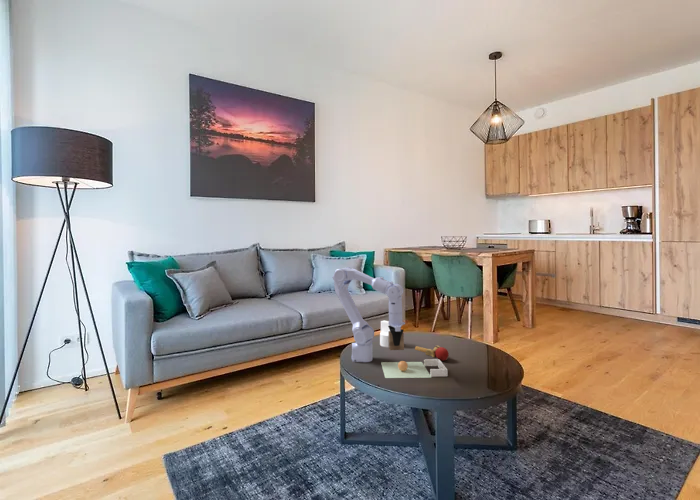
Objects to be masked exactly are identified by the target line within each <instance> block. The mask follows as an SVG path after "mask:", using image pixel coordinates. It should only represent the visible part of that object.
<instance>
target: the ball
mask: <svg viewBox="0 0 700 500" xmlns="http://www.w3.org/2000/svg"><path fill="white" fill-rule="evenodd" d="M398 362H399V363H398V368H399V370H401V371H405V370H407V368H408V364H407V363H406V362H407V361H404V360H400V361H398Z"/></svg>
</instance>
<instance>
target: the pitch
mask: <svg viewBox="0 0 700 500" xmlns="http://www.w3.org/2000/svg"><path fill="white" fill-rule="evenodd" d="M399 362H400V361H389V362H388V361H385V362H383V361H381V362H380V363H381V368H382V371H383V375H384V378H385V379H407V378H408V379H411V378H412V379H417V378H418V379H421V378H422V379H423V378H427V379H428V378H432V377H448V376H449V375H448V368H447V367H446V366H445V364H443V361H440V360H439V359H438V358H432V359H430V358H429V359H428V358H426V359H423V361H405V362H406V363H407V364H408V368H407V370H405V371H401V370H399V368H398V363H399ZM427 367H438V368H430V369H429V371H430V372H429V371H428V369H427Z"/></svg>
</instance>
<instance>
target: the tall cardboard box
mask: <svg viewBox="0 0 700 500" xmlns="http://www.w3.org/2000/svg"><path fill="white" fill-rule="evenodd" d="M404 337H405V334H404V332H403V333H402V336H401V339H400V345H399V346H394V343H393V337H392V333H391V331H388V339H389V347H388V350H389V351H404V350H405V338H404Z"/></svg>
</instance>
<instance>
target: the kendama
mask: <svg viewBox="0 0 700 500" xmlns="http://www.w3.org/2000/svg"><path fill="white" fill-rule="evenodd" d="M414 350H415V351H419V352H422V353H425V356H431V357H433V358H435V359H439V360H440V361H441V362H444V361H447V360H448V358H449V355H450V354H449V351H448V349H446V348H445V347H442V346H440V345H434V347H433V349H432V348H425V347H422V346H418V345H417V346H416V345H415V348H414Z"/></svg>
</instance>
